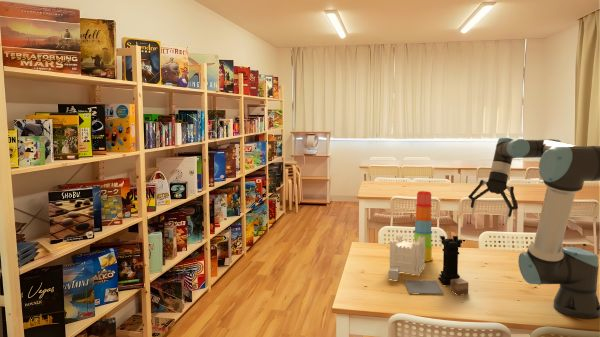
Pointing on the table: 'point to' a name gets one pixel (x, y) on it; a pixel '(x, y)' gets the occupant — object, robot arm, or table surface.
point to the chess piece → (450, 259)
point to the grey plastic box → (394, 272)
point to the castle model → (408, 254)
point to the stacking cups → (424, 221)
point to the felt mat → (423, 287)
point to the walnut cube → (459, 286)
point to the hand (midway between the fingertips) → (488, 219)
